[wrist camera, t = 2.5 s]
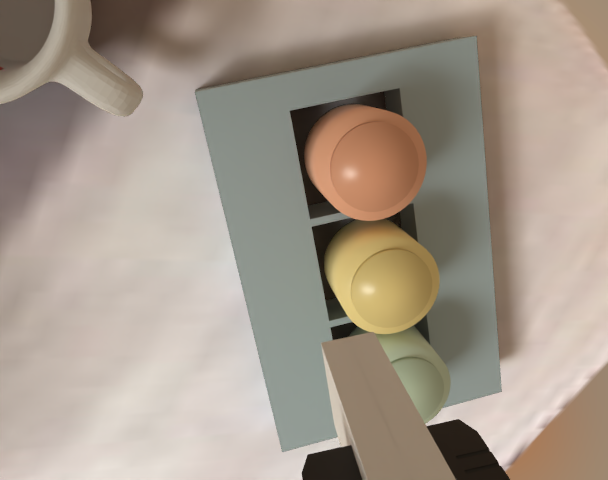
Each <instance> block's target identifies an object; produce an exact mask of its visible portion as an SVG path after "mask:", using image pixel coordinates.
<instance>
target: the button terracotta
mask: <svg viewBox="0 0 608 480" xmlns="http://www.w3.org/2000/svg"><path fill="white" fill-rule="evenodd" d="M304 163H305V168H306V171H307V174H308V176H309V178H310V180H311V182H312V183H313V184H314V186H315V187H316V188H317V189H318V190H319V191H320V192H321V193H322V194H323V195H324V197H325V198H326V199H327V200H328V201H329V202H330V203H331V204H332V205H333V206H334V207H335V208H336V209H337V210H338V211H340V212H341V213H343V214H344V215H346V216H348V217H351V218H353V219H357V220H363V221H375V220H381V219H385V218H388V217H390V216H392V215H394V214H396V213H398V212H400V211H401V210H402V209H404V208H405V207H406V206H407V205H408V204H409V203H410V202H411V201H412V200H413V199H414V197H415V196H416V195H417V193H418V191H419V190H420V188H421V185H422V183H423V180H424V177H425V173H426V166H427V156H426V150H425V146H424V143H423V140H422V138H421V136H420V134H419V133H418V131H417V129H416V128H415V127H414V126H413V125H412V124H411V123H410V122H409V121H408V120H407V119H405V118H404V117H402V116H400V115H398V114H396V113H394V112H390V111H387V110H382V109H378V108H374V107H370V106H366V105H361V104H347V105H342V106H338V107H336V108H334V109H331V110H330V111H328V112H326V113H325V114H324V115H323V116H321V117H320V118H319V119H318V120H317V121H316V123H315V124H314V125H313V127H312V128H311V130H310V132H309V134H308V136H307V139H306V143H305V148H304Z"/></svg>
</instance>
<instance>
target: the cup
mask: <svg viewBox="0 0 608 480" xmlns="http://www.w3.org/2000/svg"><path fill="white" fill-rule="evenodd" d="M91 22H92V9H91V1H90V0H0V104H3V103H7V102H10V101H13V100H15V99H18V98H20V97H22V96H24V95H26V94H28V93H29V92H31V91H33V90H35V89H37V88H38V87H40V86H42V85H44V84H45V83H47V82H52V81H53V82H59V83H61V84H63V85H65V86H66V87H68V88H69V89H71V90H72V91H74V92H75V93H77V94H78V95H80V96H81V97H83V98H84V99H86V100H87V101H89V102H91V103H92V104H94V105H96V106H97V107H99V108H101V109H103V110H105V111H107V112H109V113H111V114H113V115H116V116H123V117H125V116H128V115H130V114H132V113H133V112H134V110H135V109H136V108H137V107H138V105H139V104H140V102H141V100H142V98H143V91H142V89H141V87H140V86H139V85H138V84H137V83H136V82H135V81H134V80H133V79H132V78H130V77H129V76H128V75H126V74H125V73H124V72H123V71H121V70H120V69H119V68H117V67H116V66H115V65H113V64H112V63H111V62H109V61H108V60H107V59H105V58H104V57H102V56H101V55H100V54H98V53H97V52H96V51H95V50H93V49H92V48H91V46H90V45H89V43H88V38H89V34H90V30H91Z"/></svg>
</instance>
